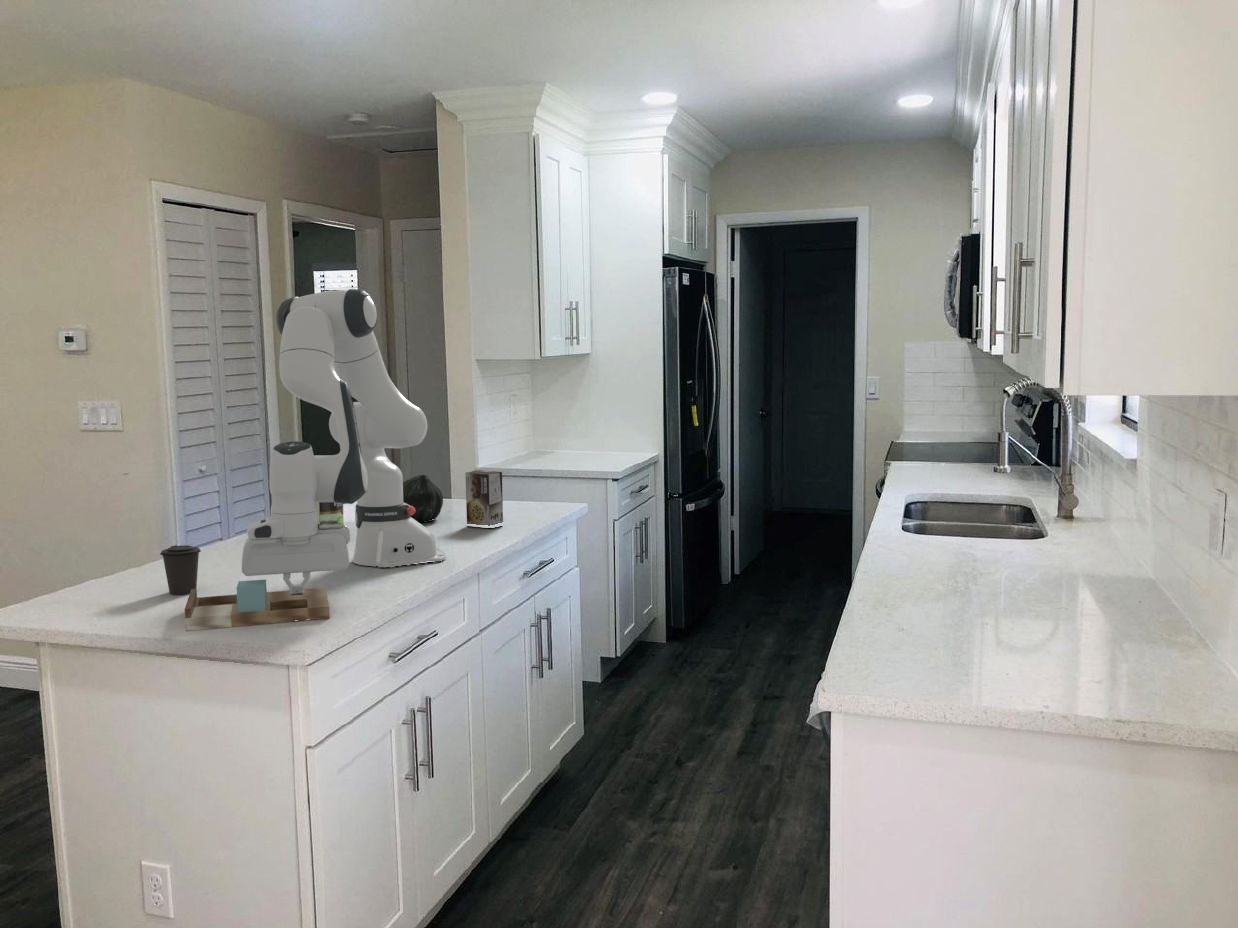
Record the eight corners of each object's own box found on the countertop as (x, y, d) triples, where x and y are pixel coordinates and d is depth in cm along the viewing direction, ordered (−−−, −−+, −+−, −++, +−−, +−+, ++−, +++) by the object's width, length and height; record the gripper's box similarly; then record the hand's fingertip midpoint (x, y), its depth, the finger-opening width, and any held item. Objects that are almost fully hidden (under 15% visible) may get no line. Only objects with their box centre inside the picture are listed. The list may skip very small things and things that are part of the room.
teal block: (267, 604, 200) (266, 579, 199) (265, 610, 195) (264, 585, 195) (240, 605, 199) (239, 581, 198) (237, 612, 194) (236, 587, 193)
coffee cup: (173, 587, 223) (170, 542, 222) (209, 587, 223) (207, 543, 222) (155, 596, 215) (152, 550, 214) (193, 596, 215) (190, 550, 214)
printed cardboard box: (504, 526, 296) (503, 471, 294) (489, 529, 290) (489, 474, 288) (480, 523, 301) (479, 469, 299) (465, 526, 295) (464, 471, 293)
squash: (389, 498, 312) (393, 466, 301) (438, 498, 316) (443, 466, 305) (392, 535, 303) (396, 503, 292) (442, 534, 307) (448, 503, 296)
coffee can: (349, 535, 282) (347, 485, 281) (338, 542, 272) (336, 490, 270) (312, 535, 283) (310, 485, 281) (300, 542, 272) (298, 490, 271)
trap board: (325, 598, 213) (325, 579, 213) (329, 618, 198) (328, 597, 198) (192, 609, 205) (191, 589, 205) (185, 630, 190) (184, 609, 190)
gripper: (348, 519, 205) (350, 586, 206) (240, 525, 198) (243, 594, 200) (350, 525, 199) (352, 594, 201) (239, 531, 192) (242, 602, 194)
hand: (297, 594), depth 200 cm, fingers closed
